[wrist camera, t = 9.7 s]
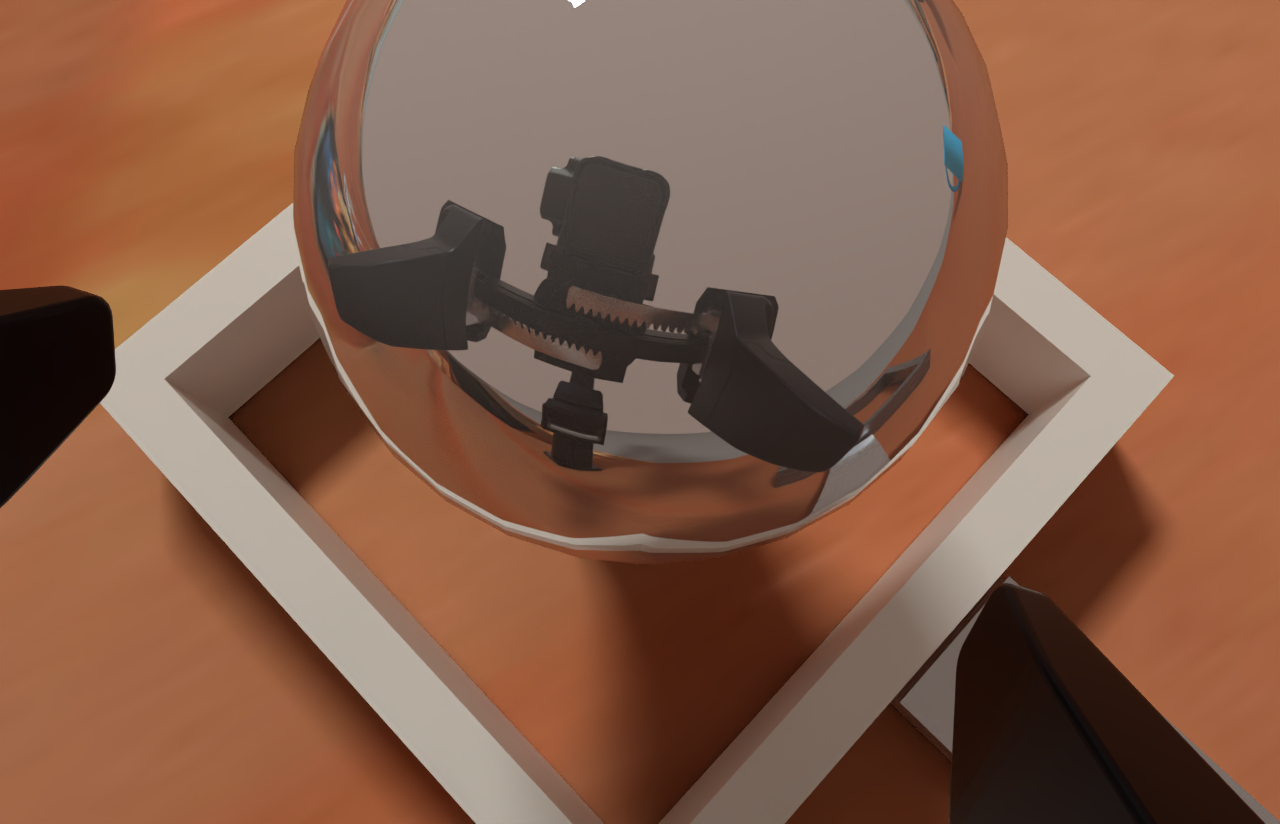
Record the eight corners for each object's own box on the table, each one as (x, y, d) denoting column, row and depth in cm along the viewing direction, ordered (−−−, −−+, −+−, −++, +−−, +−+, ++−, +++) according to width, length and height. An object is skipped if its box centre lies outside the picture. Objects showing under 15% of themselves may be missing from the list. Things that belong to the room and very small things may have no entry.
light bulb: (726, 219, 19) (898, -490, 7) (873, 528, 17) (1401, 245, 6) (405, 336, 18) (25, -261, 6) (528, 674, 16) (311, 692, 5)
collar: (632, 945, 15) (632, 998, 13) (154, 417, 18) (78, 379, 15) (1100, 414, 18) (1174, 375, 15) (629, 14, 20) (628, -74, 18)
